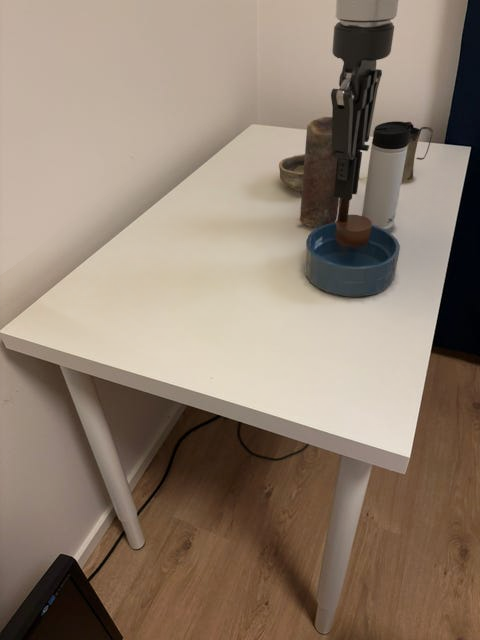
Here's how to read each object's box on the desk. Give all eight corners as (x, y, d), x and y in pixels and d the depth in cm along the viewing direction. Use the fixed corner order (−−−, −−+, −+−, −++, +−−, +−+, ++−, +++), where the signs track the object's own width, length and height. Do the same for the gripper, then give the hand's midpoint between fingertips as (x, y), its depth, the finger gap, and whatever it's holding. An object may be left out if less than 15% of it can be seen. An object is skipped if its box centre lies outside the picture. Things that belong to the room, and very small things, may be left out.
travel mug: (397, 234, 94) (418, 129, 81) (363, 235, 94) (378, 130, 82) (390, 219, 99) (408, 117, 86) (358, 219, 99) (371, 118, 86)
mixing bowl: (404, 263, 86) (411, 233, 82) (376, 309, 76) (381, 278, 73) (325, 242, 93) (328, 214, 89) (289, 283, 83) (290, 253, 79)
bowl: (266, 193, 110) (266, 149, 104) (303, 166, 121) (304, 126, 115) (320, 207, 104) (323, 161, 98) (354, 177, 115) (359, 135, 109)
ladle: (374, 235, 81) (391, 126, 70) (362, 250, 77) (378, 138, 66) (342, 227, 83) (354, 120, 72) (329, 242, 80) (339, 132, 68)
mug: (385, 180, 113) (393, 128, 106) (390, 172, 117) (398, 120, 109) (420, 186, 110) (431, 132, 103) (424, 176, 114) (435, 124, 106)
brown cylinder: (344, 222, 99) (355, 120, 86) (323, 236, 95) (332, 132, 82) (313, 211, 103) (319, 113, 90) (292, 224, 99) (296, 123, 86)
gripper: (357, 11, 68) (340, 173, 83) (313, 29, 58) (303, 208, 73) (410, 13, 65) (383, 181, 80) (373, 33, 55) (350, 219, 70)
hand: (345, 194), depth 76 cm, fingers closed on ladle, 2 cm apart
